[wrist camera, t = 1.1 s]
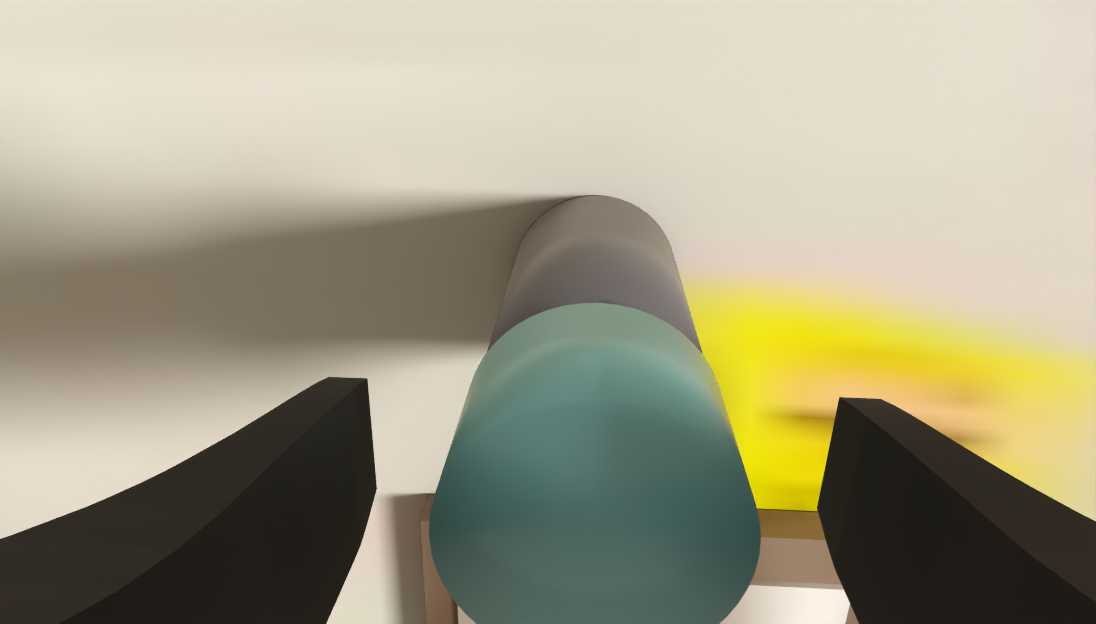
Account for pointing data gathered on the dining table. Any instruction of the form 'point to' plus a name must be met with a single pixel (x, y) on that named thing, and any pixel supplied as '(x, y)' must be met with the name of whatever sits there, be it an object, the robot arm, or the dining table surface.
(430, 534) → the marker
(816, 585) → the writing board
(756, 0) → the dining table surface
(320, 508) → the robot arm
